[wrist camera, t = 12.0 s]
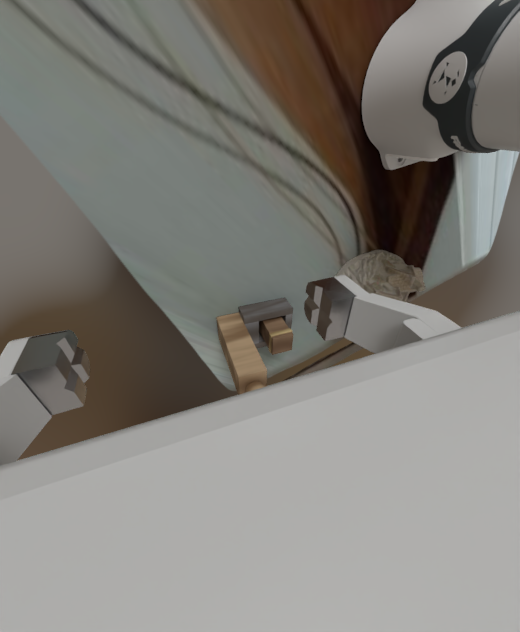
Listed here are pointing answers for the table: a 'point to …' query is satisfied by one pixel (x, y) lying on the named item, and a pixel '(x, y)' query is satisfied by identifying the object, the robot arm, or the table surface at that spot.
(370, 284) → the ceramic cottage
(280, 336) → the small wooden block
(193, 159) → the table surface
